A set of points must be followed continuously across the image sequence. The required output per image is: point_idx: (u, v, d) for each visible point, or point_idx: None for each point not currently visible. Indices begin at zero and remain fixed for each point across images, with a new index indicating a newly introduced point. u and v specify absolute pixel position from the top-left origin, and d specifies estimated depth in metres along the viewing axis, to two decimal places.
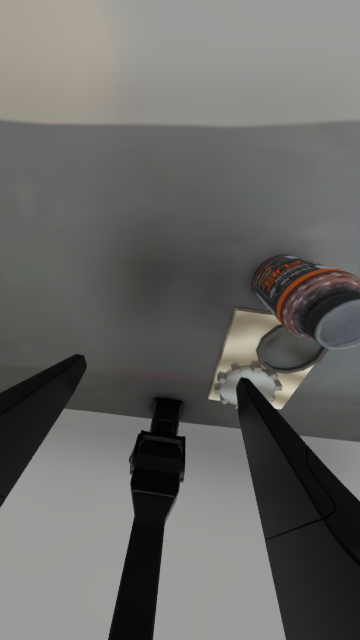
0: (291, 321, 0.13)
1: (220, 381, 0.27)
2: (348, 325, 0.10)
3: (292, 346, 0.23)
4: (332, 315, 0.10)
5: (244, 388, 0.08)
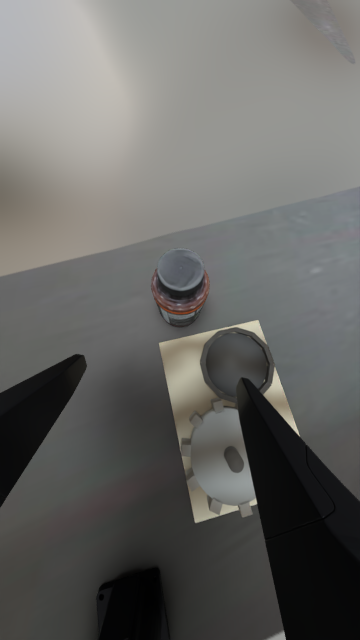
0: (161, 296, 0.15)
1: (184, 453, 0.17)
2: (177, 266, 0.13)
3: (236, 360, 0.21)
4: (160, 264, 0.13)
5: (244, 388, 0.08)
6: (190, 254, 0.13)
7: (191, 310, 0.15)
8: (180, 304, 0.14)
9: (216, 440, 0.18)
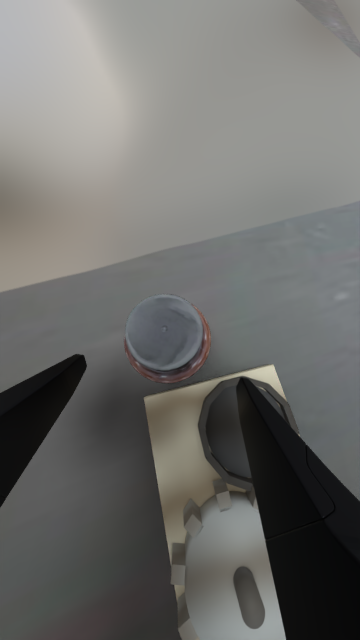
0: (136, 363, 0.10)
1: (175, 579, 0.12)
2: (159, 327, 0.08)
3: None
4: (131, 323, 0.08)
5: (244, 388, 0.08)
6: (180, 305, 0.08)
7: None
8: (166, 376, 0.09)
9: (221, 556, 0.12)
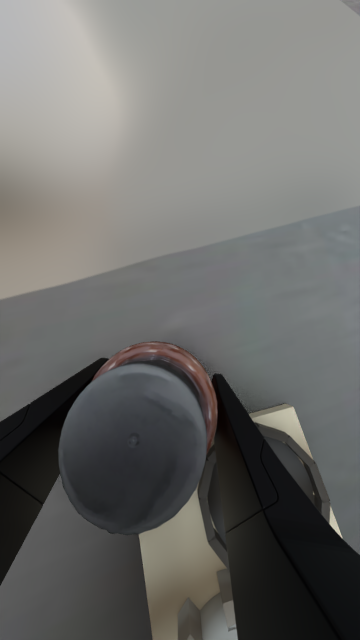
0: None
1: None
2: (123, 437, 0.04)
3: None
4: (71, 429, 0.04)
5: (215, 384, 0.08)
6: (164, 389, 0.04)
7: None
8: None
9: None
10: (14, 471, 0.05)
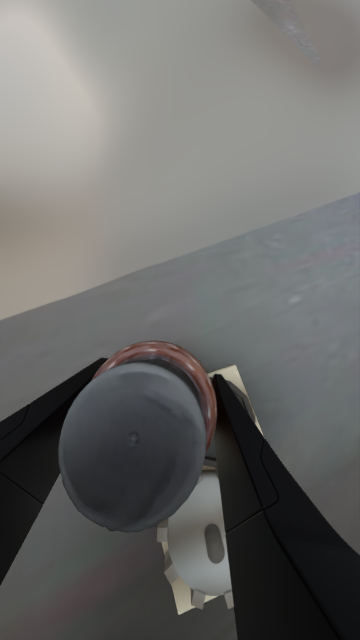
0: None
1: (160, 538, 0.16)
2: (123, 436, 0.04)
3: None
4: (71, 428, 0.04)
5: (215, 384, 0.08)
6: (164, 388, 0.04)
7: None
8: None
9: (195, 518, 0.16)
10: (14, 471, 0.05)
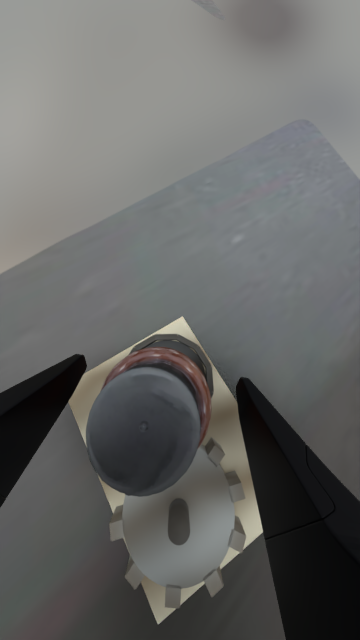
0: None
1: (115, 535, 0.12)
2: (135, 424, 0.05)
3: None
4: (95, 418, 0.05)
5: (244, 388, 0.08)
6: (167, 387, 0.06)
7: None
8: None
9: (155, 498, 0.13)
10: None
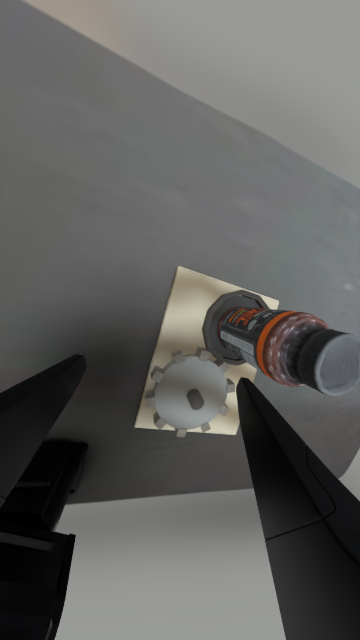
0: (278, 353, 0.11)
1: (155, 378, 0.17)
2: (343, 362, 0.09)
3: None
4: (335, 344, 0.09)
5: (244, 388, 0.08)
6: None
7: (278, 382, 0.13)
8: (284, 377, 0.11)
9: (187, 380, 0.18)
10: None
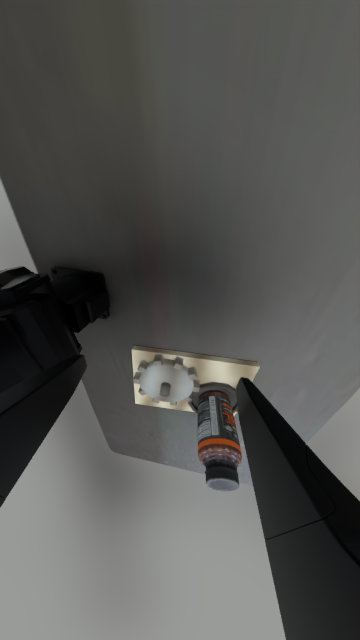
0: (220, 454, 0.20)
1: (176, 365, 0.23)
2: (224, 485, 0.19)
3: None
4: (234, 483, 0.19)
5: (243, 388, 0.08)
6: (225, 490, 0.20)
7: (199, 449, 0.22)
8: (206, 456, 0.20)
9: (176, 382, 0.25)
10: None
